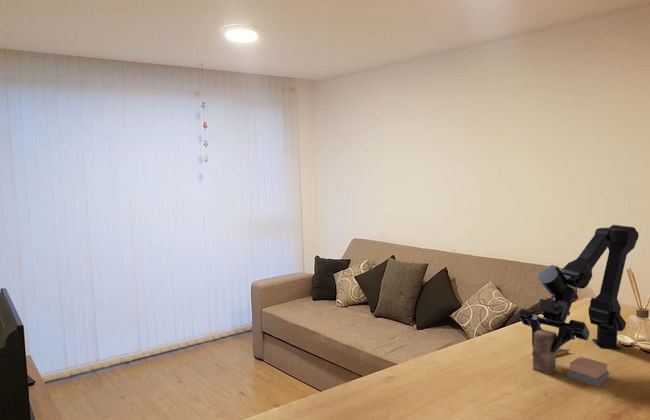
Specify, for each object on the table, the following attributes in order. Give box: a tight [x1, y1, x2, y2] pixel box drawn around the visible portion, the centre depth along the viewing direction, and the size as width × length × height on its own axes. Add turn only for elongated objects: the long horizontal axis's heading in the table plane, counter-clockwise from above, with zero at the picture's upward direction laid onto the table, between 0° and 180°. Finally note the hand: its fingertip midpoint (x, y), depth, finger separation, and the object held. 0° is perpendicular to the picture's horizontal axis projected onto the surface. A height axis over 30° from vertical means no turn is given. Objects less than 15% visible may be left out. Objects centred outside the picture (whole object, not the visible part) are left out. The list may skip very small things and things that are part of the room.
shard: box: [531, 345, 571, 357], centre depth 147 cm, size 11×8×2 cm
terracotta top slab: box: [569, 356, 608, 379], centre depth 131 cm, size 7×7×2 cm
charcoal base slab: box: [566, 368, 610, 387], centre depth 131 cm, size 8×8×2 cm
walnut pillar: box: [532, 328, 558, 375], centre depth 136 cm, size 4×4×11 cm
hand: (542, 348), depth 135 cm, fingers open, 5 cm apart
